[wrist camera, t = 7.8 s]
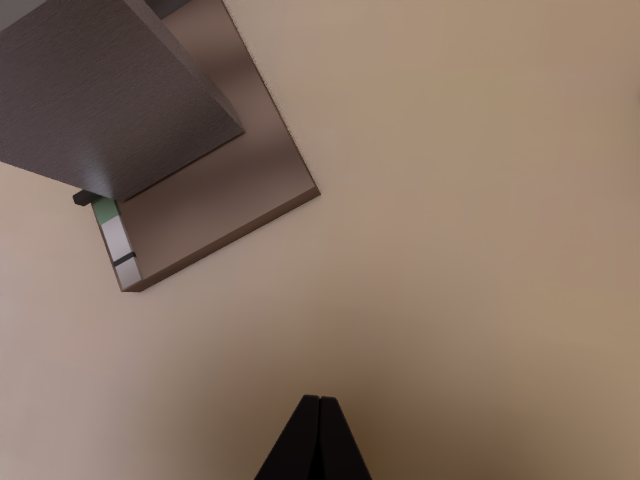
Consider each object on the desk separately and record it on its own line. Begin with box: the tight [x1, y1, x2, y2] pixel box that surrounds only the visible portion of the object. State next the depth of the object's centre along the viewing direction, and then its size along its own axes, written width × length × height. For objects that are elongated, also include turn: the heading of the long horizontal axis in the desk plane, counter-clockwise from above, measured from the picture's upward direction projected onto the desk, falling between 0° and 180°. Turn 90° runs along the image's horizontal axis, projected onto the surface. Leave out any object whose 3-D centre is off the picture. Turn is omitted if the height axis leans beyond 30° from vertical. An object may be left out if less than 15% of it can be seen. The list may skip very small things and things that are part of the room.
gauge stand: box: [91, 0, 320, 292], centre depth 19 cm, size 18×12×8 cm, turn 26°
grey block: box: [0, 0, 244, 206], centre depth 16 cm, size 6×10×10 cm, turn 116°
